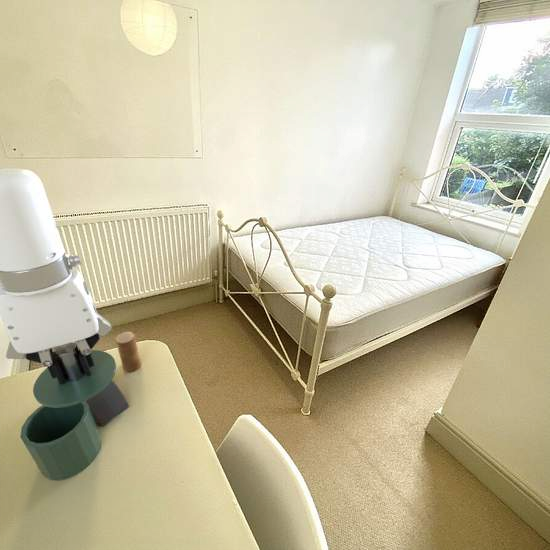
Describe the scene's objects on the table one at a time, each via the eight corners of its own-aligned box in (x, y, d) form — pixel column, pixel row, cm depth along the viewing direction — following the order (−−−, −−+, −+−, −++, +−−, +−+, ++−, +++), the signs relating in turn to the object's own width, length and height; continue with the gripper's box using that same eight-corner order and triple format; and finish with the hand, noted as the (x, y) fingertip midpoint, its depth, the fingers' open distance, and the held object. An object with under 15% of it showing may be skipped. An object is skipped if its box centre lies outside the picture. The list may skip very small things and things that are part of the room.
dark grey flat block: (101, 377, 79) (98, 365, 77) (133, 404, 72) (129, 393, 70) (68, 398, 73) (63, 386, 71) (98, 430, 66) (94, 418, 64)
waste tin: (38, 491, 55) (17, 457, 50) (42, 442, 63) (24, 409, 58) (103, 463, 60) (89, 429, 55) (99, 421, 68) (86, 388, 63)
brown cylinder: (124, 374, 80) (116, 345, 75) (122, 363, 83) (114, 334, 78) (142, 368, 82) (135, 339, 77) (139, 358, 85) (132, 329, 80)
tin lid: (32, 423, 42) (13, 389, 39) (38, 369, 51) (23, 337, 47) (121, 391, 47) (111, 359, 44) (113, 347, 56) (104, 317, 52)
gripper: (103, 248, 46) (128, 342, 55) (-42, 272, 38) (14, 376, 47) (108, 269, 40) (135, 371, 49) (-61, 302, 33) (7, 414, 42)
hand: (75, 372), depth 48 cm, fingers closed on tin lid, 2 cm apart
